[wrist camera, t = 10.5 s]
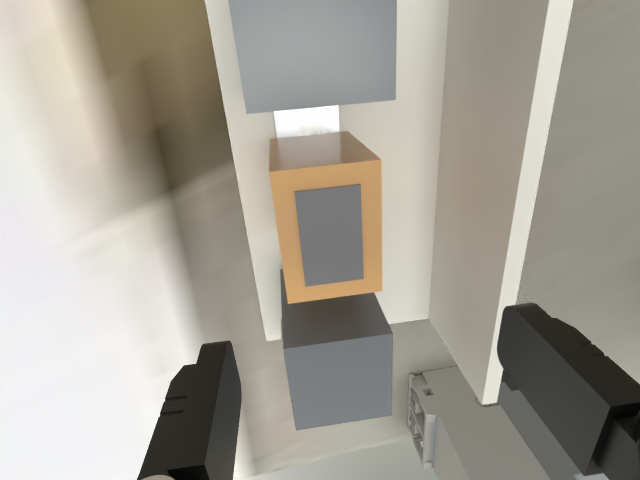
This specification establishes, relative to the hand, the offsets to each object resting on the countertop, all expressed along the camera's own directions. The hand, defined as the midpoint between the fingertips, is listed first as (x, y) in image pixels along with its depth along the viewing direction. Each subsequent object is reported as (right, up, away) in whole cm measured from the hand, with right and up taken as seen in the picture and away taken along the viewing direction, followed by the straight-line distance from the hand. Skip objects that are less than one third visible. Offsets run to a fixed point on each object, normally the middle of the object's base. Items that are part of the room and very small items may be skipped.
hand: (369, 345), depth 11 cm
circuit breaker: (+15, -12, +27) cm, 33 cm away
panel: (0, +8, +15) cm, 17 cm away
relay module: (-2, +7, +14) cm, 16 cm away
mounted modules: (-2, +7, +14) cm, 16 cm away
